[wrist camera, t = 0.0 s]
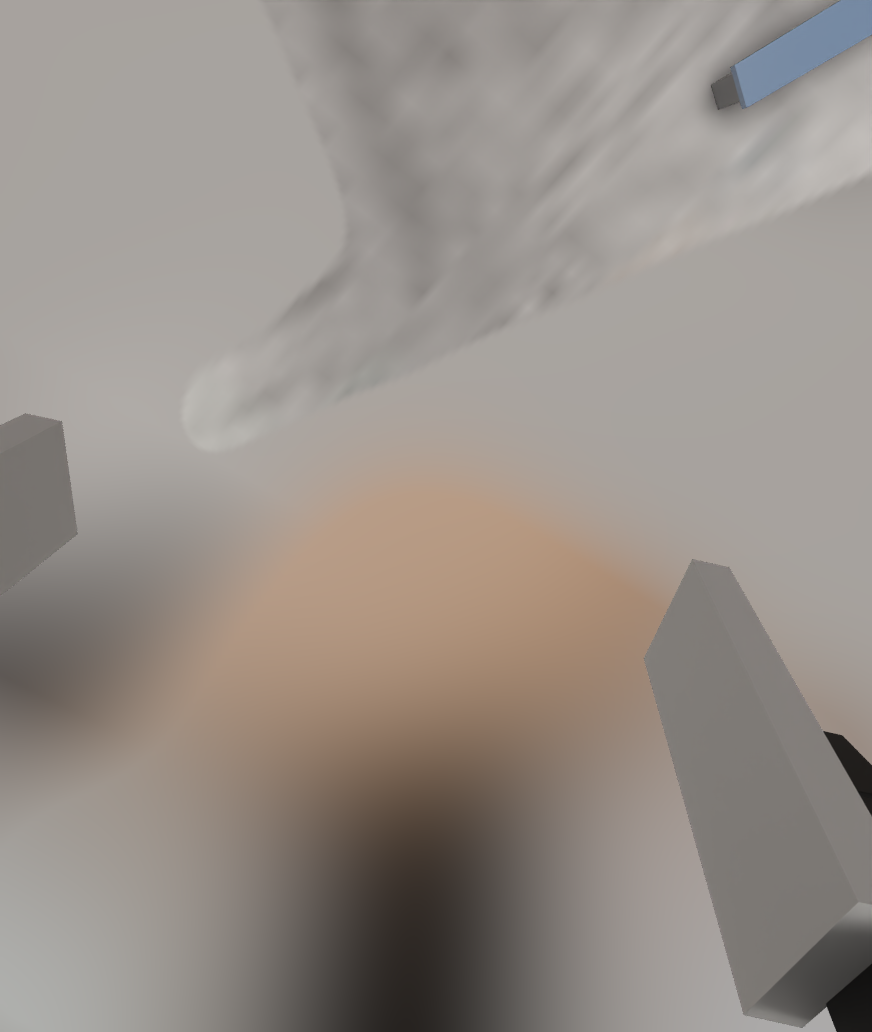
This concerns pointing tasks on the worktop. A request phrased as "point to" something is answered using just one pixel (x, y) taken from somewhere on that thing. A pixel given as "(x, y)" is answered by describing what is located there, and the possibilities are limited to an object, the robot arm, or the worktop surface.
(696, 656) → the robot arm
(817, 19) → the divider rack
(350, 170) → the worktop surface
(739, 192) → the worktop surface
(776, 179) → the worktop surface
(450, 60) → the worktop surface
